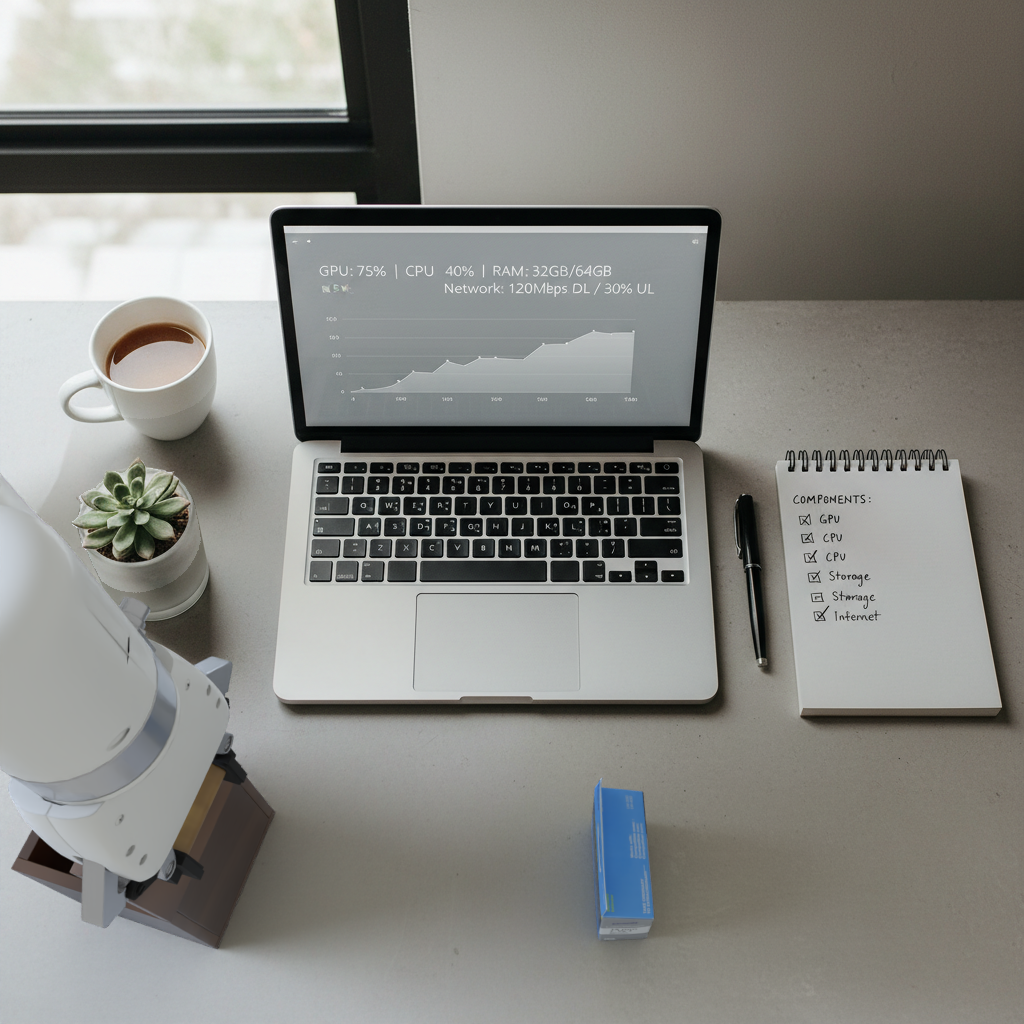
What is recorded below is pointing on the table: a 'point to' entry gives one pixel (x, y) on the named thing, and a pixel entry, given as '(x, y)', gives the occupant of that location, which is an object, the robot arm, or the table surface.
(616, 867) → the label tape box
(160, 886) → the chest lid
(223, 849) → the chest
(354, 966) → the table surface
